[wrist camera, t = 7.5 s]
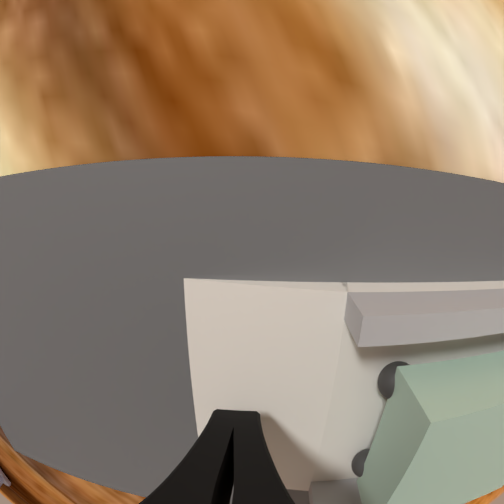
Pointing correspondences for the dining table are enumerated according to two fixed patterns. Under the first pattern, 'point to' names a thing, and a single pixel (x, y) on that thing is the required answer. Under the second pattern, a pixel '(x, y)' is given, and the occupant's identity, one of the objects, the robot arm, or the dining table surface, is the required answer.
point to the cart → (436, 433)
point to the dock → (233, 307)
